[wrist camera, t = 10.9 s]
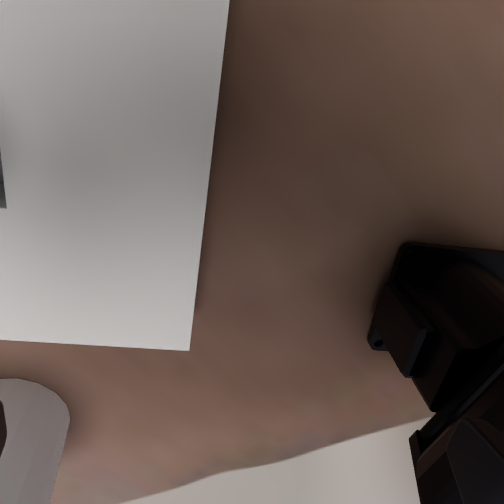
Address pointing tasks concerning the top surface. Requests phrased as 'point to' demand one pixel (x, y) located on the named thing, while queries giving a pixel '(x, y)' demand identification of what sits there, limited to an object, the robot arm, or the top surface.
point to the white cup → (31, 441)
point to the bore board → (105, 167)
